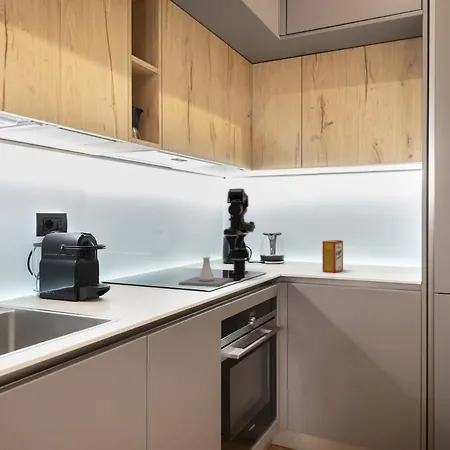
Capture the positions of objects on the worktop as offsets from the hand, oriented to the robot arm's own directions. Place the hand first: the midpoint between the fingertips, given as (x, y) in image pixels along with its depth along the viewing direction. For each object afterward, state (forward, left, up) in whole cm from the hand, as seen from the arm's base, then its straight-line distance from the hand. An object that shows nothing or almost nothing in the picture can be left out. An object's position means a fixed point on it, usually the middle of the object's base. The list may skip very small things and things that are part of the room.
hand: (236, 250), depth 215 cm
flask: (+17, -8, -12) cm, 22 cm away
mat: (+17, -8, -13) cm, 23 cm away
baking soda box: (-36, +39, -13) cm, 55 cm away
